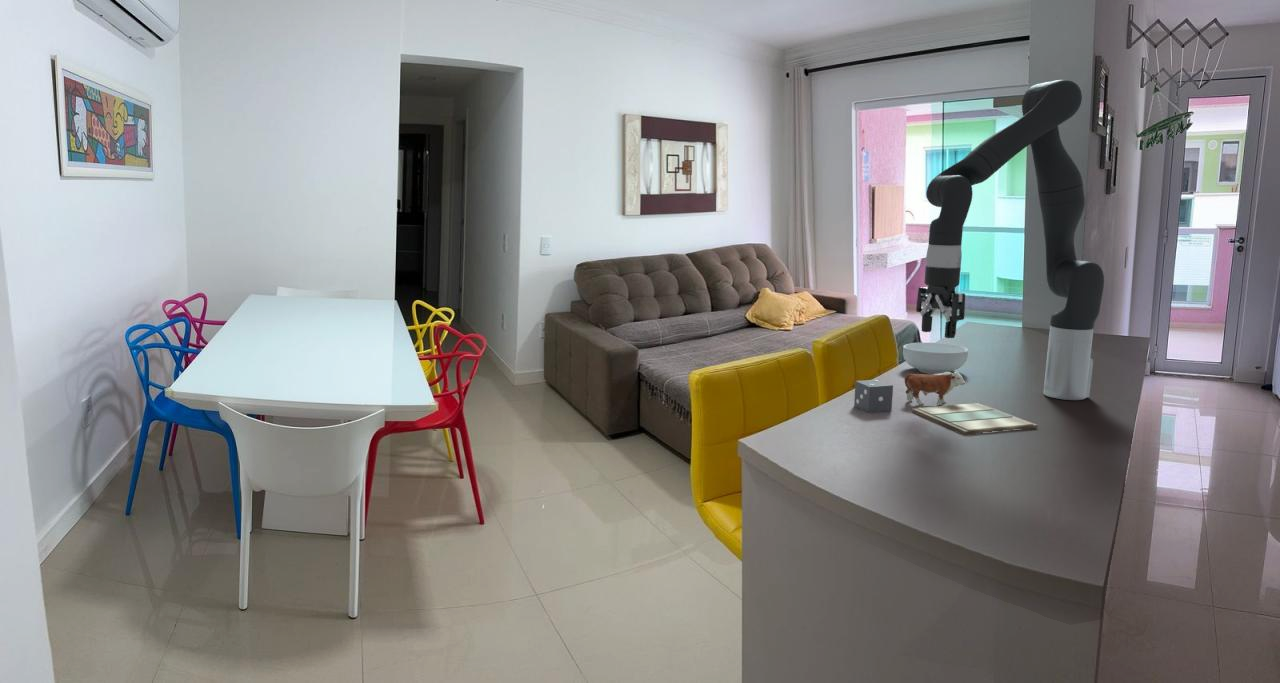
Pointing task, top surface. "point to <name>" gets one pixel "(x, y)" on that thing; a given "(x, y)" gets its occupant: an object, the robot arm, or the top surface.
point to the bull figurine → (932, 385)
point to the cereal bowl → (935, 357)
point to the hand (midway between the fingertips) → (937, 334)
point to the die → (873, 396)
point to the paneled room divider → (972, 418)
